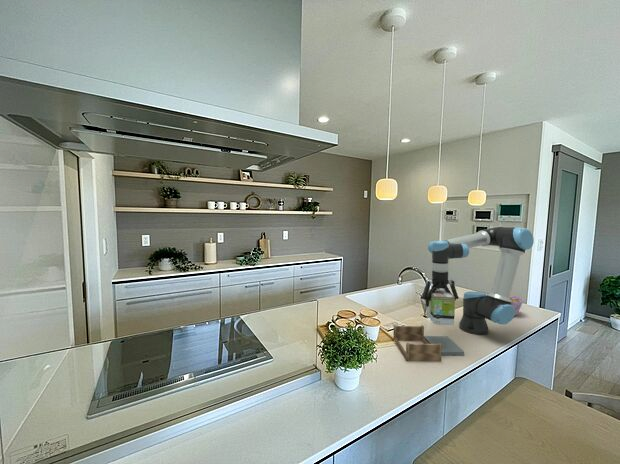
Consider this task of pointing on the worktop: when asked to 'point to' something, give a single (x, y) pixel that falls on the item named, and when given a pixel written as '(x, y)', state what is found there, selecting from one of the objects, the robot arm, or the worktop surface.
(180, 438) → the worktop surface
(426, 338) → the slate board
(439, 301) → the tea box
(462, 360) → the worktop surface
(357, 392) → the worktop surface
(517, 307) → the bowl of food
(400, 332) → the walnut caddy
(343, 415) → the worktop surface
